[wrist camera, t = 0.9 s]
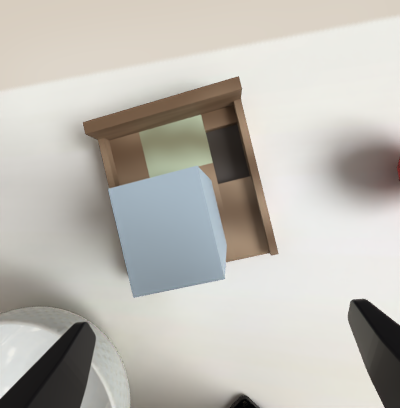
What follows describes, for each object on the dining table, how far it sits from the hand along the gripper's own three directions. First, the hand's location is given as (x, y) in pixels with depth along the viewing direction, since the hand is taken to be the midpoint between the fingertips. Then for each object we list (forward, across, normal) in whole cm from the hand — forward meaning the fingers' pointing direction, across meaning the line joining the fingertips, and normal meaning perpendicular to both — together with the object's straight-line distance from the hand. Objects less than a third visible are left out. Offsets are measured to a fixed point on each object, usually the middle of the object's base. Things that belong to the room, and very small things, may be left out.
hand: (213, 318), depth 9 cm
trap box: (+16, +3, +3) cm, 17 cm away
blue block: (+14, +2, +5) cm, 15 cm away
